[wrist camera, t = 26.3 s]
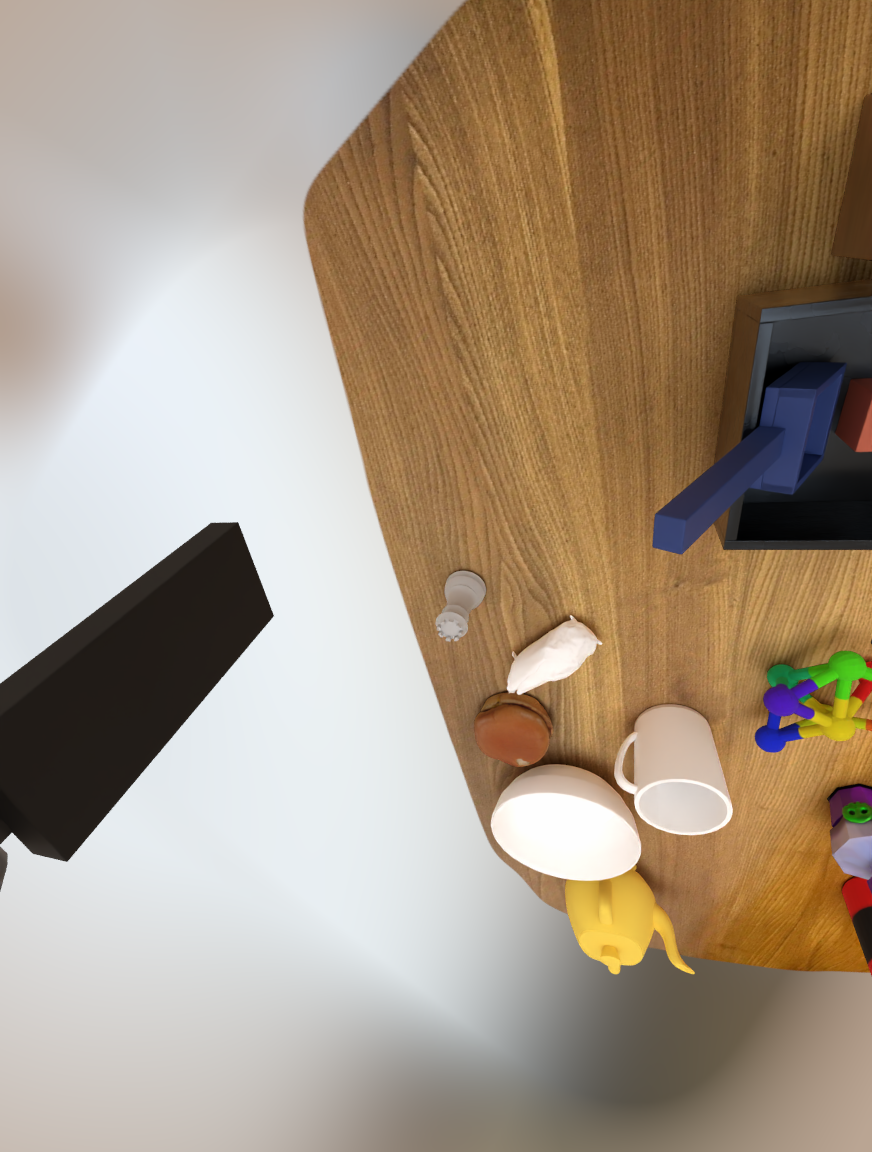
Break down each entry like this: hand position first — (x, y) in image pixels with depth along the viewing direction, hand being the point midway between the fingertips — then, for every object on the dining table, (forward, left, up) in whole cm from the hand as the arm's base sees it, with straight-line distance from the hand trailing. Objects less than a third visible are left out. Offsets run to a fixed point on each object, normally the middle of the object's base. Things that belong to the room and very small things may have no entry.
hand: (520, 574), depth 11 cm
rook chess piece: (+25, -12, -37) cm, 46 cm away
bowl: (+58, -2, -37) cm, 69 cm away
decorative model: (+35, +23, -37) cm, 56 cm away
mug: (+44, +9, -37) cm, 58 cm away
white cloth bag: (+32, -3, -37) cm, 49 cm away
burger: (+45, -8, -37) cm, 59 cm away
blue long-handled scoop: (+8, +10, -26) cm, 29 cm away
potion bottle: (+53, +30, -37) cm, 71 cm away
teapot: (+77, +6, -37) cm, 86 cm away
